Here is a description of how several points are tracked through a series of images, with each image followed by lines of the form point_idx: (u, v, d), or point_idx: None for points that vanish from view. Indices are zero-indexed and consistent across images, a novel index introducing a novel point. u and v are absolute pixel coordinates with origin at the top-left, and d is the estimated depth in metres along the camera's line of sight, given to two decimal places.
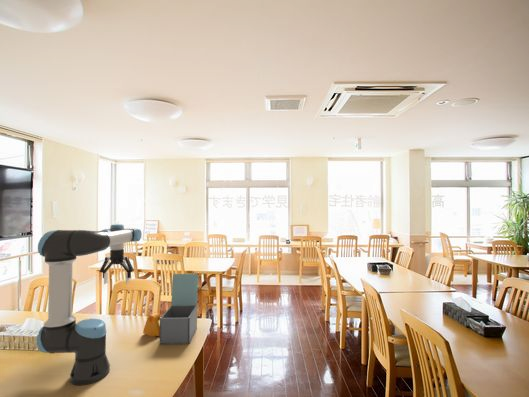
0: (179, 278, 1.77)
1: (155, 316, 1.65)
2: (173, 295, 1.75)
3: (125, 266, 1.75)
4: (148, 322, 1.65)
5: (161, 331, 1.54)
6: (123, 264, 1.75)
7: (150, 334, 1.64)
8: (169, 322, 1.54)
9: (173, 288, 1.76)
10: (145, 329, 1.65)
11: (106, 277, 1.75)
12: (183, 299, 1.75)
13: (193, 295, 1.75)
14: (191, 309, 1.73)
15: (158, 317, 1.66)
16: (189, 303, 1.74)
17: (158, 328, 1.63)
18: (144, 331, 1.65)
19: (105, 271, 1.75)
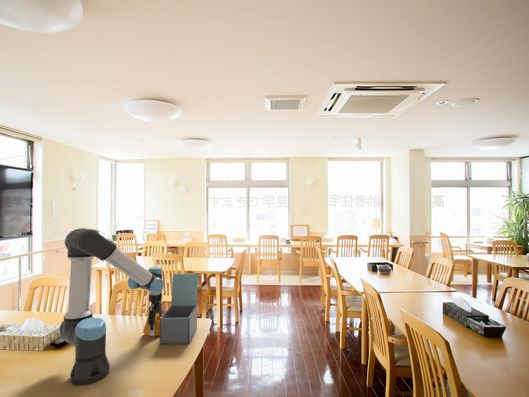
0: (179, 278, 1.77)
1: (155, 316, 1.65)
2: (173, 295, 1.75)
3: None
4: None
5: (161, 331, 1.54)
6: None
7: None
8: (169, 322, 1.54)
9: (173, 288, 1.76)
10: (145, 329, 1.65)
11: None
12: (183, 299, 1.75)
13: (193, 295, 1.75)
14: (191, 309, 1.73)
15: (158, 317, 1.66)
16: (189, 303, 1.74)
17: (158, 328, 1.63)
18: (144, 331, 1.65)
19: None
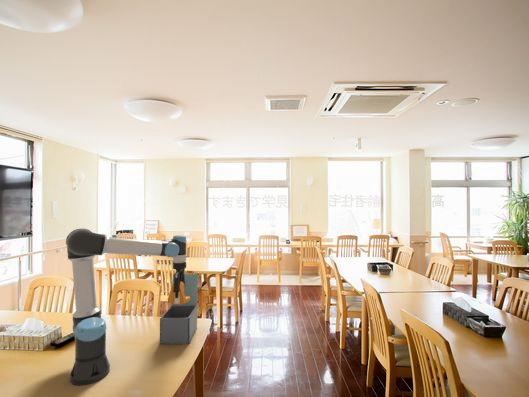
0: None
1: (180, 284, 1.62)
2: None
3: None
4: (173, 290, 1.62)
5: (161, 331, 1.54)
6: None
7: None
8: (169, 322, 1.54)
9: None
10: (169, 297, 1.62)
11: None
12: None
13: (193, 295, 1.75)
14: (191, 309, 1.73)
15: (183, 285, 1.64)
16: (189, 303, 1.74)
17: (183, 296, 1.60)
18: (168, 300, 1.62)
19: None
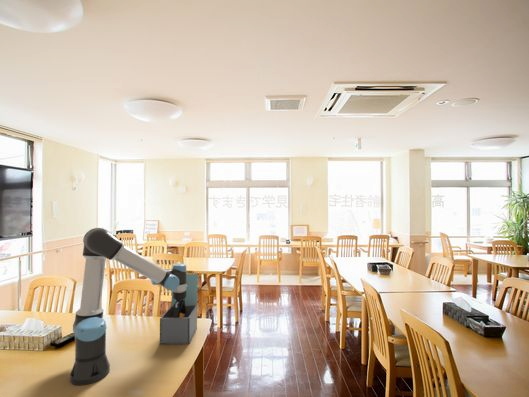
0: None
1: (180, 316, 1.61)
2: None
3: None
4: None
5: (161, 331, 1.54)
6: None
7: None
8: (169, 322, 1.54)
9: None
10: None
11: None
12: None
13: (193, 295, 1.75)
14: (191, 309, 1.73)
15: (183, 317, 1.63)
16: (189, 303, 1.74)
17: None
18: None
19: (180, 312, 1.69)
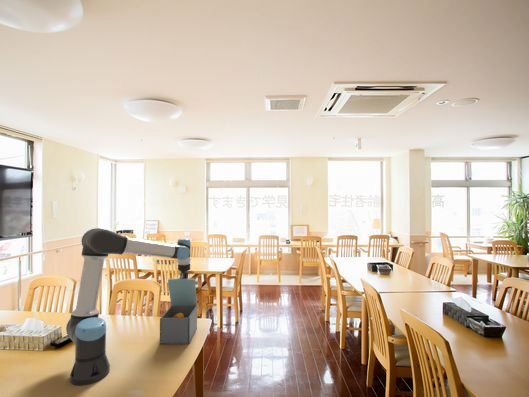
0: (175, 283, 1.68)
1: (180, 316, 1.61)
2: (171, 297, 1.72)
3: None
4: None
5: (161, 331, 1.54)
6: None
7: None
8: (169, 322, 1.54)
9: (170, 292, 1.70)
10: None
11: None
12: (182, 300, 1.73)
13: (192, 297, 1.72)
14: (191, 309, 1.73)
15: (183, 317, 1.63)
16: (189, 303, 1.74)
17: None
18: None
19: None
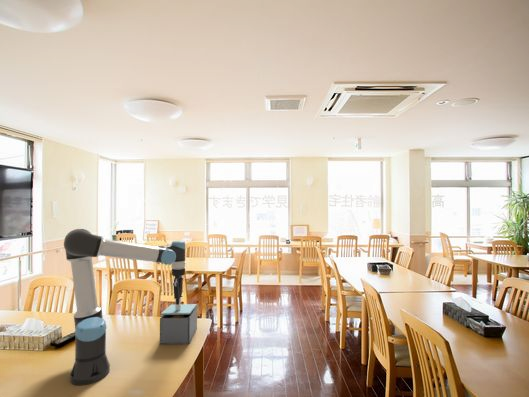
0: None
1: (180, 316, 1.61)
2: None
3: None
4: None
5: (161, 331, 1.54)
6: None
7: None
8: (169, 322, 1.54)
9: None
10: None
11: None
12: None
13: None
14: None
15: (183, 317, 1.63)
16: None
17: None
18: None
19: None
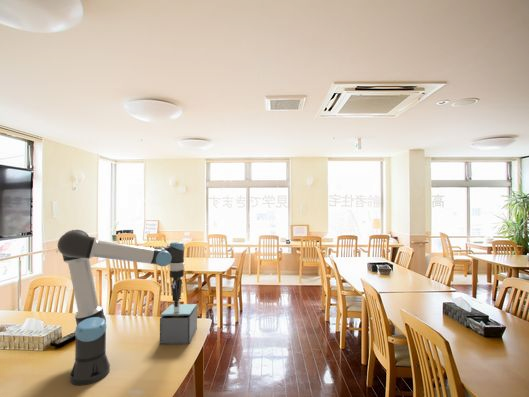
0: None
1: (180, 316, 1.61)
2: None
3: None
4: None
5: (161, 331, 1.54)
6: None
7: None
8: (169, 322, 1.54)
9: None
10: None
11: None
12: None
13: None
14: None
15: (183, 317, 1.63)
16: None
17: None
18: None
19: None
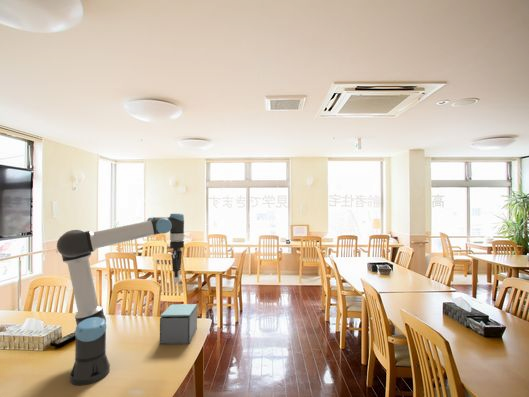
0: None
1: (180, 316, 1.61)
2: None
3: None
4: None
5: (161, 331, 1.54)
6: None
7: None
8: (169, 322, 1.54)
9: None
10: None
11: None
12: None
13: None
14: None
15: (183, 317, 1.63)
16: None
17: None
18: None
19: None
